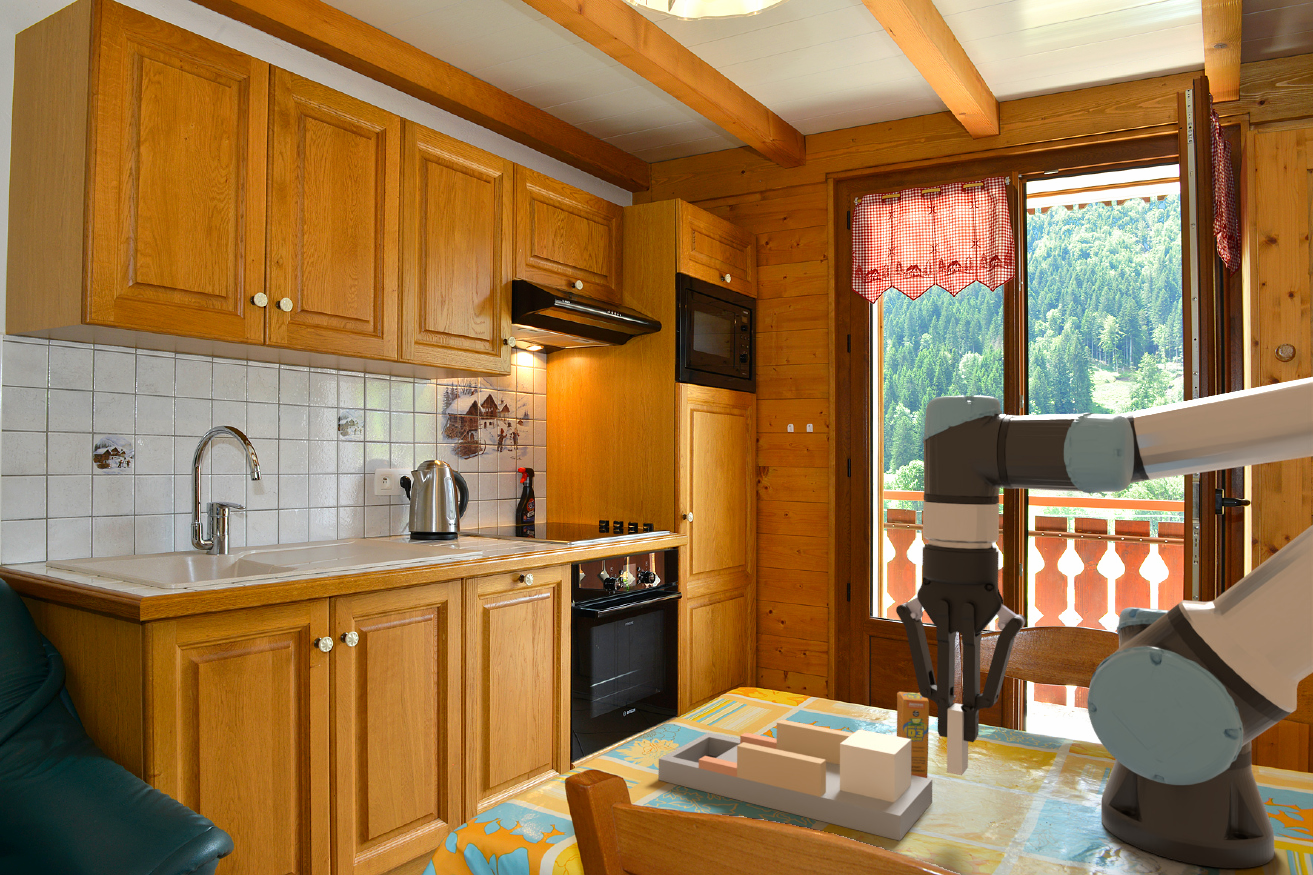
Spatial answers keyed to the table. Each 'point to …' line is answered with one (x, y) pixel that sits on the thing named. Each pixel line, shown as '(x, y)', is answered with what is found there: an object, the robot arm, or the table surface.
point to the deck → (792, 778)
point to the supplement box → (914, 728)
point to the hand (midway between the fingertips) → (957, 769)
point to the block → (875, 765)
